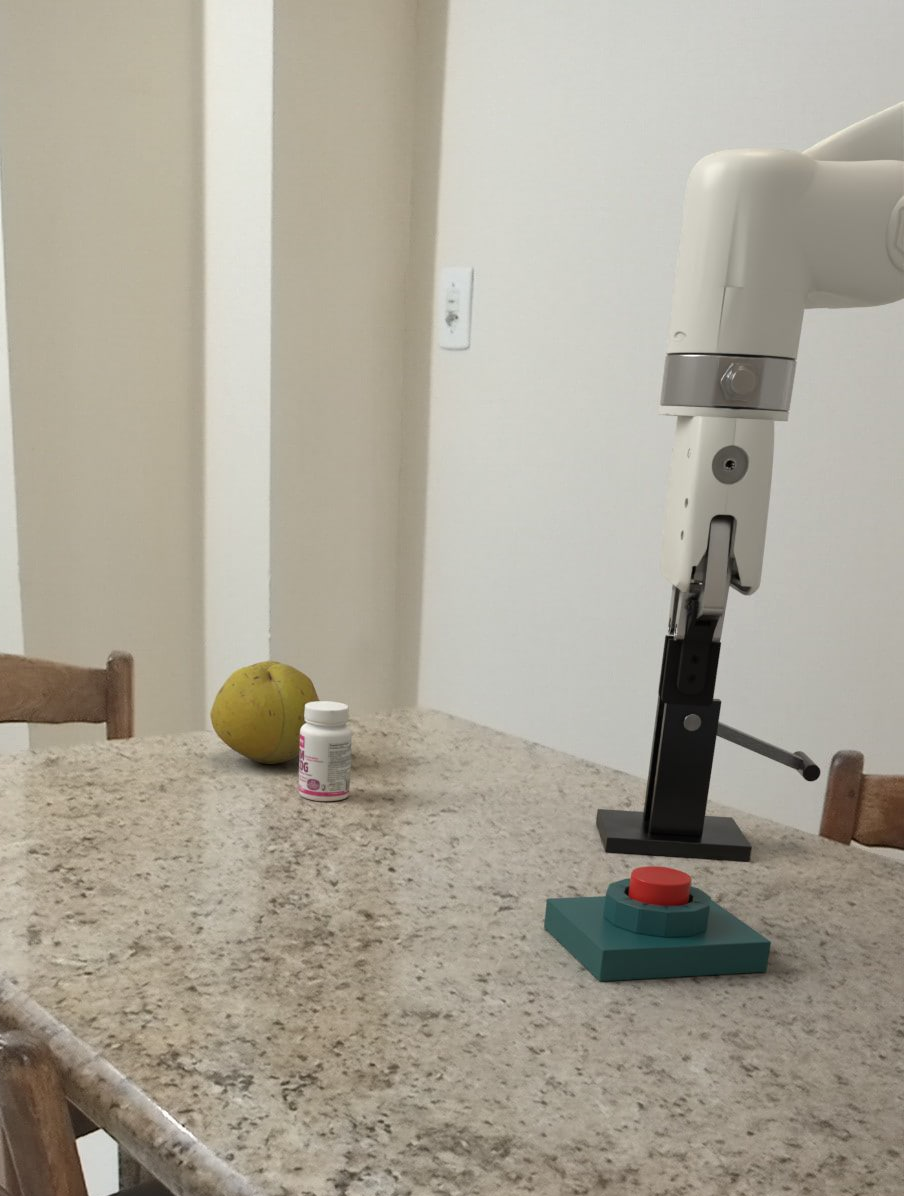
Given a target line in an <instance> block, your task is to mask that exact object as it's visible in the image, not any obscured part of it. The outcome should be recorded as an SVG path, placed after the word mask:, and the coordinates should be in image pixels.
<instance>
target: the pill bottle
mask: <svg viewBox="0 0 904 1196" xmlns="http://www.w3.org/2000/svg"><path fill="white" fill-rule="evenodd" d="M349 711H350V709H349V706H348V704H345V703H343V702H338V701H331V700H319V701H315V702H309V703H307V704H306V705H305V713H304V717H305V719H304V720H305V721H306V722H307V723H306V724H304V725H303V726H302V727H301V729H300V752H299V755H298V781H297V783H298V786H297V792H298V794H299V796H301V797H302V798H304V799H307V800H309V801H310V800H311V801H314V802H315V801H316V802H336V801H342V800H344V799H346V798H348V797H349V795H350V788H351V787H350V786H351V785H350V784H351V763H352V761H351V760H352V740H353V739H352V737H353V732H352V729H351V727H349V726H348V725H347V724H348V723H349Z"/></svg>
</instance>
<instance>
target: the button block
mask: <svg viewBox="0 0 904 1196" xmlns="http://www.w3.org/2000/svg"><path fill="white" fill-rule="evenodd" d="M630 879H631V877H630V878H623V879H621V880H617V881H614V882H611V883H609V884H608V886H607V890H606V891H605V895H603V896H601V895H600V896H579V897H553V898H552V897H551V898H546V904H545V912H544V913H545V914H544V923H543V928H544V929H545V930H546V931H547V932H548V933H549V934H550V935H551V936H552V937H553V938H555V940H556V941H558V943H560V945H562V946H563V947H564V948H565V949H566V950H567V951H568V952H569V953H570V954H571V955H572V956H573V957H574V958H575V959H576V960H577V961H578V962H579V963H580V964H581V965H582V966H583V967H584V968H585V969H586V970H587V971H589V973H590V974H591V975H592V976H594V977H595V979H597V981H599V982H612V981H613V982H614V981H628V980H629V981H630V980H647V979H665V978H682V977H700V976H719V975H734V974H735V975H737V974H754V973H767V970H768V969H767V968H768V962H769V957H770V951H771V945H772V941H771V940H769V939H768V938H767V937H765V936H764V935H763V934H761V933H759V932H758V931H756V930H755V929H754V928H752V927H751V926H750V925H749V924H747V923H745V922H744V921H742V919H740V918H738V917H737V916H736V915H734V914H733V913H732V912H730V911H728V910H727V909H726V908H724V907H723V906H721V905H720V904H718V903H717V902H716V901H714V900H713V899H712V897H711V895H709V894H707V893H706V892H705V891H703V890H702V889H700V888H698V887H696V886H692V885H691V887H690V894H689V901H688V904H685V905H680V906H660V905H653V904H646V903H643V902H640V901H637V900H634V899H631V898H630V897H629V896H628V895H629V887H630Z"/></svg>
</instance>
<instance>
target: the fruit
mask: <svg viewBox="0 0 904 1196" xmlns="http://www.w3.org/2000/svg"><path fill="white" fill-rule="evenodd" d="M315 701H320V698H319V696H318V693H317V690H316V687H315V685H314V683H313V681H312V679H311V678H310V677H309V676H307V675H306V674H305V673H303V672H302V671H301V670H298V669H297V668H295V667H293V666H292V665H289V664H286V663H281V662H279V661H275V660H265V661H261V662H256V663H253V664H252V665H248V666H244V667H241V668H238V669H237V670H235V671H234V672H233V673H231V674H230V675H229V677H228V678H227V679H226V681H224V683H223V684H222V686H221V687H220V689H219V690H218V692H217V693H216V695H215V698H214V701H213V704H212V707H211V709H210V721H211V725H212V728H213V730H214V732H215V733H216V735H217V736H218V738H220V740H221V741H222V742H223V743H224V744H225V745H226V746H227V747H229V748H230V749H232V750H233V751H234V752H236V753H238V754H240V755H241V756H243V757H245V758H247V759H249V760H251V761H253V762H258V763H260V764H264V765H265V764H266V765H267V764H268V765H273V764H274V765H275V764H280V763H285V762H288V761H290V760H293V759H294V758H295V757H297V756H299V752H300V729H301V727H302V726H303V725H304V724H306V723H307V722H306V721H305V720H304V719H305V717H304V713H305V705H306V704H307V703H309V702H315Z"/></svg>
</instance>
